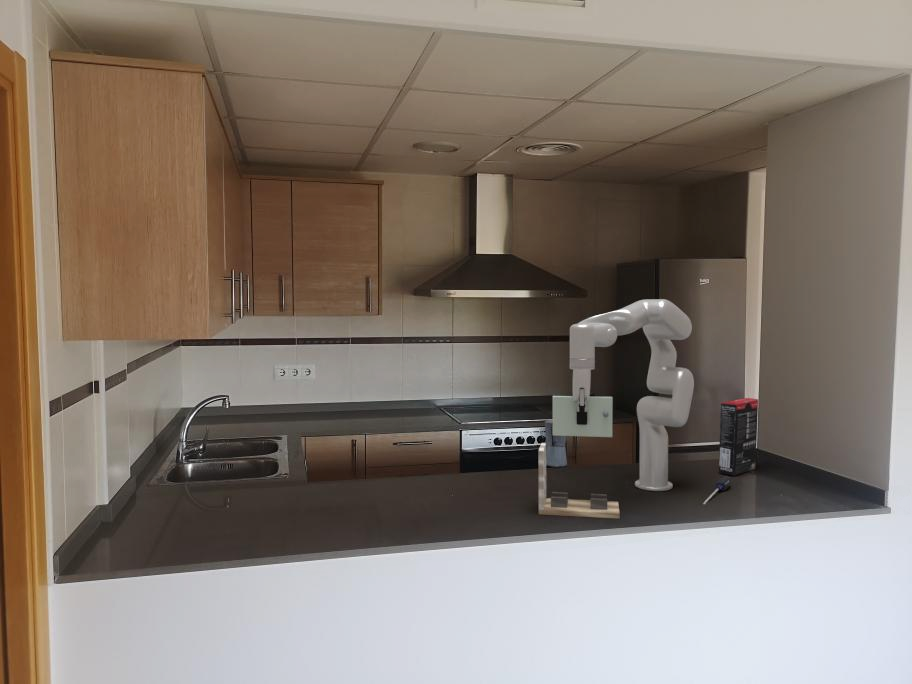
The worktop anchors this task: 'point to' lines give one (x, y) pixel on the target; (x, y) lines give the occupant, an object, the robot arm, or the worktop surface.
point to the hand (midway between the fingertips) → (582, 423)
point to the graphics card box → (738, 436)
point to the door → (596, 417)
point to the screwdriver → (720, 486)
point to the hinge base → (570, 507)
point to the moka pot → (555, 447)
